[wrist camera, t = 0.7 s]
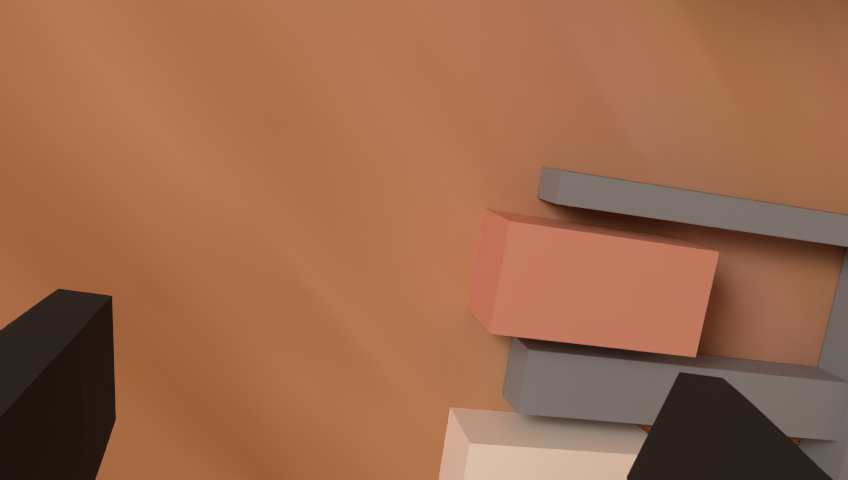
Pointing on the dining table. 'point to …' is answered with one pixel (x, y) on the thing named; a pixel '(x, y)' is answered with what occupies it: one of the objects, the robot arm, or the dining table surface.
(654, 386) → the cable organizer
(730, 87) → the dining table surface
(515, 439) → the off-white plug
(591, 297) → the brick-red plug
